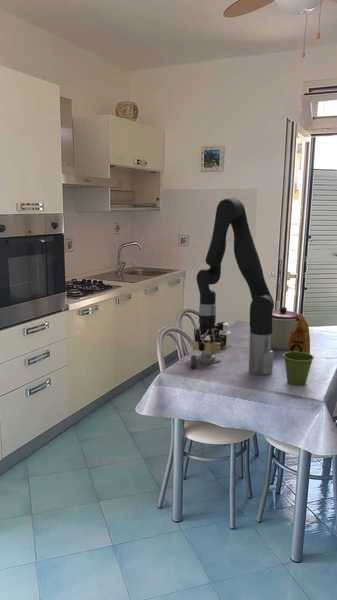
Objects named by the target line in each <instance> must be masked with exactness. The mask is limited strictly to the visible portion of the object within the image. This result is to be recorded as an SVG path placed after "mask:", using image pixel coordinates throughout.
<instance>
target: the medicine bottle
mask: <svg viewBox="0 0 337 600" xmlns="http://www.w3.org/2000/svg"><path fill="white" fill-rule="evenodd" d="M216 325H218V326H220V330H219V337H218V338H217V339H216V340H215V342H218V343H221V347H222V348H223V349H227V348H228V347H230V346H231V345H232V331H230V330H229V325H230V324H229V323H228V322H226V321H225V322H224V321H219V322H216ZM222 348H221V349H222Z"/></svg>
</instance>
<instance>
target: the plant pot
mask: <svg viewBox="0 0 337 600" xmlns="http://www.w3.org/2000/svg"><path fill="white" fill-rule="evenodd" d="M282 356H283V358H284V362H285V363H284V364H285V371H286V381H287V382H288V383H289V384H290V385H293V386H305V385H306V384H307V380H308V377H309V373H310V369H311V365H312V363H313V360H314V359H315V357H314V355H312V354H311V353H310V354H308V353H304V352H288V351H286V352H284V353H283V354H282Z"/></svg>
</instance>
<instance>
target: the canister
mask: <svg viewBox="0 0 337 600" xmlns="http://www.w3.org/2000/svg"><path fill="white" fill-rule="evenodd" d="M299 314H300V313H298V312H294V311H290V310H288V309H287V307H286V306H280V307H279V310H278V309H277V310H273V314H272V327H273V330H272V349H274V350H278V351H288V341H289V337H290V334H291V332H292V329H293V327H294V326H295V324H296V323H297V322H298V321H295V320H296V319H297V318H299V317H298V316H299Z"/></svg>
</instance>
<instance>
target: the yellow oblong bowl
mask: <svg viewBox="0 0 337 600" xmlns="http://www.w3.org/2000/svg"><path fill="white" fill-rule="evenodd" d="M201 339H202V338H201ZM192 343H193V344H192V349H193V350H194V351H198V352H200V353H201V352H203V353H206V354H208V355H212V356H214V355H218V354H221V349H222V348H221V343H218V342H215V341H211V339H208V338H205V339H204V341H203V351H200V350H199V343H198V342H196V341H195V338H194V339H193V341H192Z"/></svg>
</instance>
